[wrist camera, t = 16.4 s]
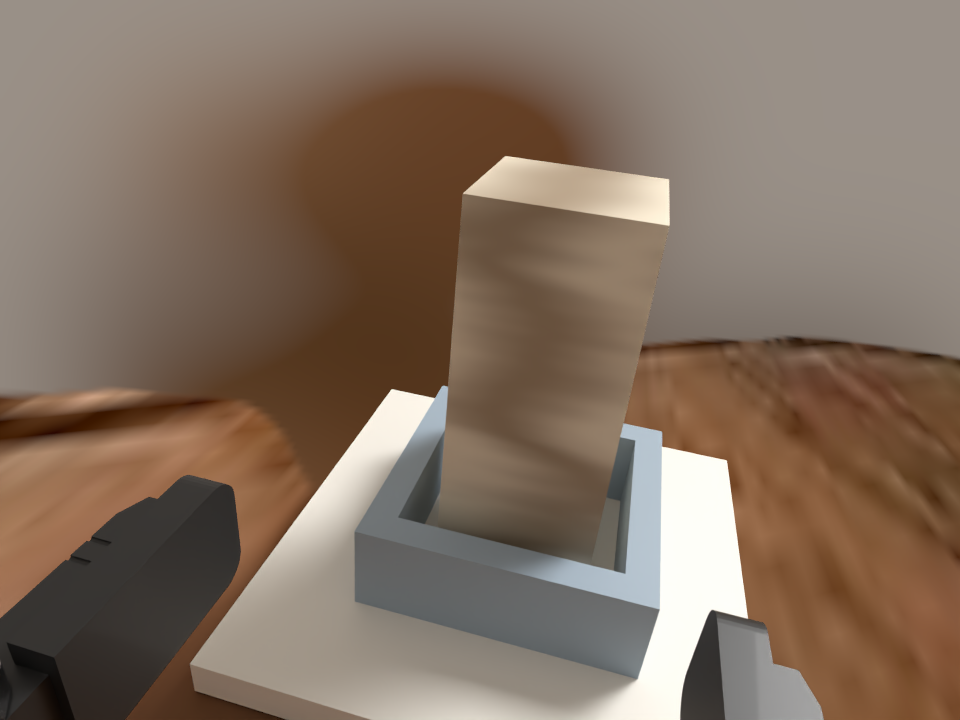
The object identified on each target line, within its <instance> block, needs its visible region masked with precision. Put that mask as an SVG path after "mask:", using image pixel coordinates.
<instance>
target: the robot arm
mask: <svg viewBox="0 0 960 720" xmlns="http://www.w3.org/2000/svg"><path fill="white" fill-rule="evenodd" d="M240 553H241V549H240V539H239V530H238V522H237V513H236V504H235V496H234V491H233V489H232V487H231V486H230V485H227V484H223V483H219V482H215V481H211V480H207V479H203V478H200V477H196V476H192V475H186V476H183V477H181V478H180V479H179V480H177V481H176V482H175V483H174V484H173V485H172V486H171V487H170V488H169V489H168V490H167V491H166V492H165V493H163V494H162V495H161V496H160V497H159V498H158V499H155V498H151V497H148V498H146V499H144V500H142V501H140V502H138V503H136V504H135V505H133V506H131V507H129V508H127V509H125V510H123V511H121V512H119V513H117V514H116V515H115V516H114V517H113V518H111V519H110V520H109V521H108V522H107V523H106V524H105V525H104V526H103V527H101V528H100V529H99V530H98V531H97V532H96V533H95V534H94V535H93V536H92V538H91V540H90V541H86V542H85V543H84V544H83V545H81V546H80V547H79V548H78V549H77V550H76V551H75V552H74V553H73V554H71V557H70V559H69V560H68V561H67V560H65V561H64V562H63V563H61V564H60V565H59V566H58V567H57V568H56V569H55V570H54V571H53V572H51V573H50V574H49V575H48V576H47V577H46V578H45V579H44V580H43V581H41V582H40V583H39V584H38V585H37V586H36V587H35V588H34V589H33V590H31V591H30V592H29V593H28V594H27V595H26V596H25V597H24V598H23V599H21V600H20V601H19V602H18V603H17V604H16V605H15V606H14V607H13V608H11V609H10V610H9V611H8V612H7V613H6V614H5V615H4V616H3V617H1V618H0V720H125V719H126V718H127V716H128V715H129V714H130V713H131V711H132V710H133V709H134V707H135V706H136V705H137V704H138V702H139V701H140V700H141V698H142V697H143V696H144V694H145V693H146V692H147V691H148V689H149V688H150V687H151V685H152V684H153V683H154V682H155V680H156V679H157V678H158V676H159V675H160V674H161V673H162V671H163V670H164V669H165V667H166V666H167V665H168V663H169V662H170V661H171V660H172V658H173V657H174V656H175V654H176V653H177V652H178V651H179V649H180V648H181V647H182V645H183V644H184V643H185V641H186V640H187V639H188V638H189V636H190V635H191V634H192V632H193V631H194V630H195V629H196V627H197V626H198V625H199V623H200V622H201V621H202V619H203V618H204V617H205V616H206V614H207V613H208V612H209V610H210V609H211V608H212V607H213V605H214V604H215V603H216V601H217V600H218V599H219V598H220V596H221V595H222V594H223V592H224V591H225V590H226V588H227V587H228V586H229V584H230V583H231V581H232V579H233V577H234V575H235V573H236V570H237V567H238V564H239V560H240ZM680 720H824V719H823V714H822V710H821V707H820V705H819V703H818V702H817V700H816V698H815V697H814V695H813V694H812V692H811V690H810V689H809V687H808V685H807V684H806V682H805V680H804V679H803V677H802V676H801V674H800V672H799V671H798V670H795V669H791V668H787V667H784V666H780V665H776V664H773V661H772V655H771V649H770V643H769V636H768V631H767V628H766V626H765V624H764V623H763V622H759V621H755V620H751V619H747V618H743V617H739V616H735V615H731V614H727V613H723V612H719V611H715V610H711V611H710V612H709V614H708V616H707V619H706V621H705V624H704V627H703V629H702V632H701V635H700V637H699V640H698V643H697V645H696V648H695V651H694V653H693V656H692V659H691V662H690V664H689V667H688V670H687V672H686V676H685V680H684V684H683V690H682V697H681V707H680Z"/></svg>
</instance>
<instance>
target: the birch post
mask: <svg viewBox="0 0 960 720" xmlns="http://www.w3.org/2000/svg"><path fill="white" fill-rule="evenodd" d="M669 226H670V219H669V180H668V179H661V178H655V177H648V176H641V175H634V174H627V173H620V172H613V171H605V170H599V169H592V168H585V167H578V166H571V165H564V164H557V163H550V162H543V161H536V160H529V159H522V158H515V157H508V156H505V157H504V158H503V159H502V160H501V161H499V162H498V163H497V164H496V165H495V166H494V167H493V168H492V169H490V170H489V171H488V172H487V173H486V174H485V175H484V176H482V177H481V178H480V179H479V180H478V181H477V182H476V183H475V184H474V185H472V186H471V187H470V188H469V189H468V190H467V191H465V192H464V193H463V198H462V212H461V225H460V238H459V251H458V264H457V277H456V292H455V304H454V317H453V330H452V343H451V356H450V370H449V383H448V396H447V409H446V422H445V435H444V449H443V462H442V475H441V488H440V501H439V514H438V528H442V529H446V530H450V531H455V532H459V533H463V534H467V535H471V536H475V537H479V538H483V539H487V540H491V541H495V542H499V543H503V544H507V545H511V546H515V547H519V548H523V549H527V550H531V551H535V552H539V553H543V554H547V555H551V556H555V557H559V558H563V559H567V560H571V561H575V562H579V563H583V564H587V565H591V561H592V556H593V552H594V548H595V543H596V539H597V535H598V531H599V526H600V522H601V518H602V513H603V509H604V505H605V501H606V496H607V492H608V488H609V483H610V479H611V475H612V470H613V466H614V462H615V458H616V453H617V449H618V445H619V440H620V436H621V432H622V428H623V423H624V419H625V415H626V410H627V406H628V402H629V398H630V393H631V389H632V385H633V380H634V376H635V372H636V368H637V363H638V359H639V355H640V350H641V346H642V342H643V337H644V333H645V329H646V324H647V320H648V316H649V312H650V308H651V303H652V299H653V295H654V290H655V286H656V282H657V278H658V273H659V269H660V264H661V260H662V256H663V251H664V247H665V243H666V239H667V235H668V230H669Z"/></svg>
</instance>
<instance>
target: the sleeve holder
mask: <svg viewBox="0 0 960 720" xmlns="http://www.w3.org/2000/svg"><path fill="white" fill-rule="evenodd" d="M447 396H448V387H446V386H442V388H441V389H440V391H439V393H438V395H437V396H436V398H430V397H425V396H421V395H416V394H412V393H407V392H402V391H397V390H393V389H392V390H391V391H390V392H389V394H388V395H387V397H386V398H385V399H384V401H383V402H382V403H381V405H380V406H379V408H378V409H377V410H376V412H375V413H374V414H373V416H372V417H371V418H370V420H369V421H368V423H367V424H366V425H365V426H364V428H363V429H362V431H361V432H360V433H359V435H358V436H357V437H356V439H355V440H354V442H353V443H352V444H351V446H350V447H349V448H348V450H347V451H346V452H345V454H344V455H343V456H342V458H341V459H340V461H339V462H338V463H337V464H336V466H335V467H334V469H333V470H332V471H331V473H330V474H329V475H328V477H327V478H326V479H325V481H324V482H323V483H322V485H321V486H320V488H319V489H318V490H317V492H316V493H315V494H314V496H313V497H312V498H311V500H310V501H309V503H308V504H307V505H306V507H305V508H304V509H303V511H302V512H301V513H300V515H299V516H298V517H297V519H296V520H295V522H294V523H293V524H292V526H291V527H290V528H289V530H288V531H287V532H286V534H285V535H284V536H283V538H282V539H281V541H280V542H279V543H278V545H277V546H276V547H275V549H274V550H273V551H272V553H271V554H270V555H269V557H268V558H267V560H266V561H265V562H264V564H263V565H262V566H261V568H260V569H259V570H258V572H257V573H256V575H255V576H254V577H253V579H252V580H251V581H250V583H249V584H248V585H247V587H246V588H245V589H244V591H243V592H242V594H241V595H240V596H239V598H238V599H237V600H236V602H235V603H234V604H233V606H232V607H231V608H230V610H229V611H228V613H227V614H226V615H225V617H224V618H223V619H222V621H221V622H220V623H219V625H218V626H217V628H216V629H215V630H214V632H213V633H212V634H211V636H210V637H209V638H208V640H207V641H206V642H205V644H204V645H203V647H202V648H201V649H200V651H199V652H198V653H197V655H196V656H195V657H194V659H193V660H192V661H191V663H190V669H191V674H192V679H193V684H194V690H195V691H197V692H200V693H204V694H207V695H210V696H213V697H216V698H220V699H223V700H226V701H229V702H232V703H235V704H239V705H242V706H245V707H248V708H251V709H255V710H258V711H261V712H264V713H267V714H270V715H274V716H277V717H280V718H283V719H286V720H680V707H681V697H682V690H683V684H684V680H685V676H686V672H687V670H688V667H689V664H690V662H691V659H692V656H693V653H694V651H695V648H696V645H697V643H698V640H699V637H700V635H701V632H702V629H703V627H704V624H705V621H706V619H707V616H708V614H709V612H710V611H711V610H715V611H719V612H723V613H727V614H731V615H735V616H739V617H743V618H747V619H748V617H747V609H746V602H745V594H744V587H743V579H742V572H741V564H740V557H739V549H738V542H737V534H736V527H735V519H734V512H733V504H732V497H731V489H730V481H729V474H728V466H727V461H726V460H722V459H717V458H712V457H707V456H703V455H698V454H693V453H689V452H684V451H679V450H675V449H670V448H665V447H662V432H661V431H656V430H652V429H647V428H642V427H637V426H632V425H628V424H623V428H622V432H621V436H620V440H619V445H618V449H617V453H616V458H615V462H614V466H613V470H612V475H611V479H610V483H609V488H608V492H607V496H606V501H605V505H604V509H603V513H602V518H601V522H600V526H599V531H598V535H597V539H596V543H595V548H594V552H593V556H592V561H591V565H587V564H583V563H579V562H575V561H571V560H567V559H563V558H559V557H555V556H551V555H547V554H543V553H539V552H535V551H531V550H527V549H523V548H519V547H515V546H511V545H507V544H503V543H499V542H495V541H491V540H487V539H483V538H479V537H475V536H471V535H467V534H463V533H459V532H455V531H450V530H446V529H442V528H438V514H439V501H440V488H441V475H442V462H443V449H444V435H445V422H446V409H447Z"/></svg>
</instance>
